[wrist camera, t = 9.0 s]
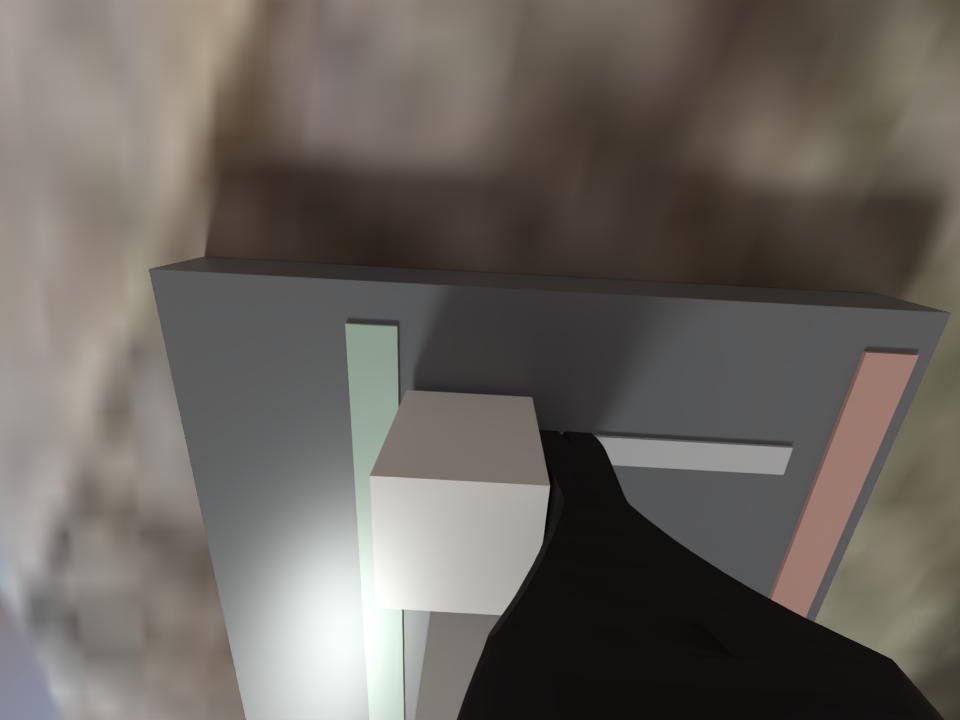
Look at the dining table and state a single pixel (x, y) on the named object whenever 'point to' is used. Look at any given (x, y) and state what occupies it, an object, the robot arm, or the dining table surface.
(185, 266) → the panel
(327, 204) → the dining table surface
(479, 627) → the block
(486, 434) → the block
